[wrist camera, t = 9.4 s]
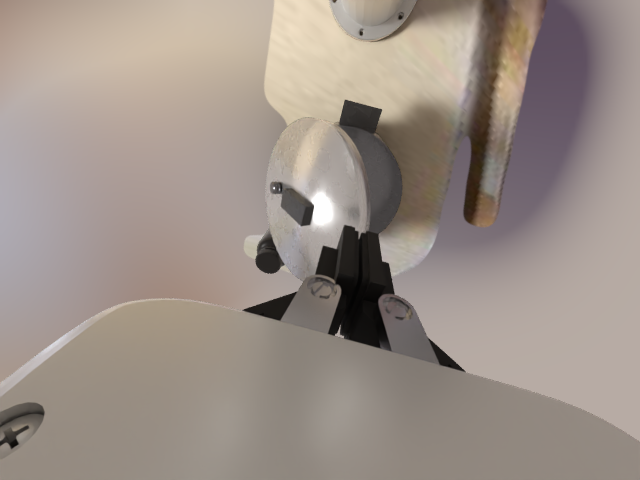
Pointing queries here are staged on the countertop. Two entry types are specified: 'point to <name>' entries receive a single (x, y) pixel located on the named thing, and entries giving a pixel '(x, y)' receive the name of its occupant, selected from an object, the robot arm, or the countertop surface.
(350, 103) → the cooker pot
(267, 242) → the supplement bottle
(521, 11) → the countertop surface
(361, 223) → the lid
